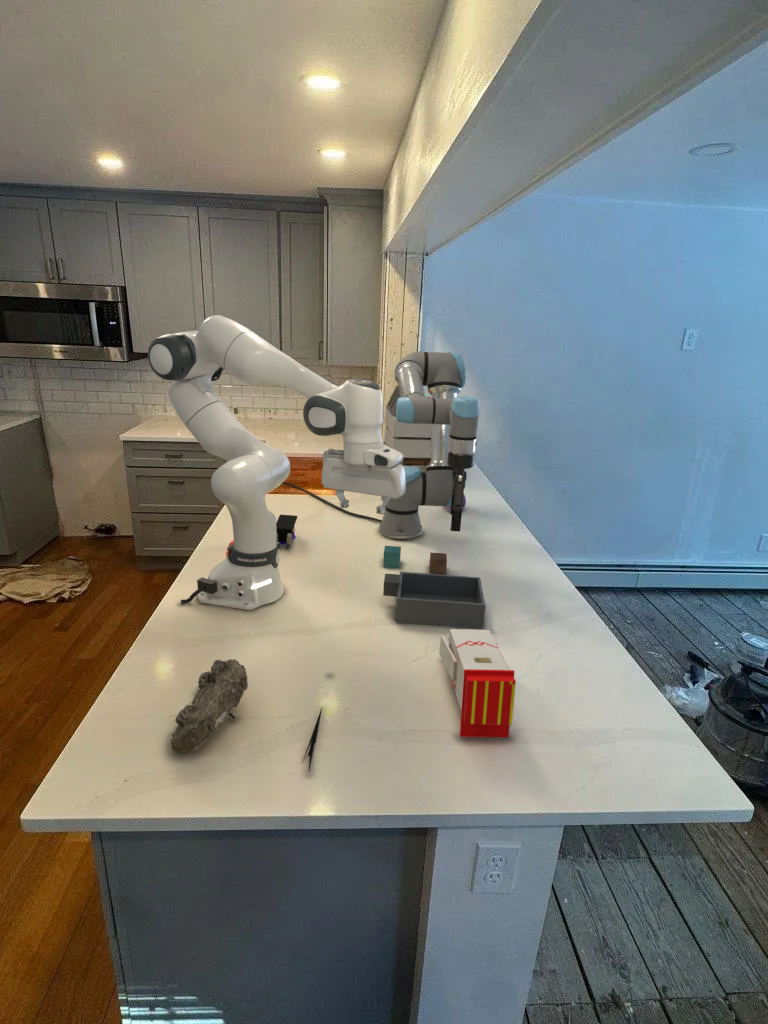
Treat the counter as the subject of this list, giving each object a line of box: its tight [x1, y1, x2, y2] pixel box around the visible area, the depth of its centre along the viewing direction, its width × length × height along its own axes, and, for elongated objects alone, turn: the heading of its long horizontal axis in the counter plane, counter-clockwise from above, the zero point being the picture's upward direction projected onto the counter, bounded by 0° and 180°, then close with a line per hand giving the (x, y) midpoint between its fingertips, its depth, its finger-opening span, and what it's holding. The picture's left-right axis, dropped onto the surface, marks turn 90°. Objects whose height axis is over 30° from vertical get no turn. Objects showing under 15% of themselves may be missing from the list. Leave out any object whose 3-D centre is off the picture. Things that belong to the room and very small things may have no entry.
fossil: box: [170, 658, 249, 753], centre depth 106 cm, size 22×10×15 cm
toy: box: [438, 628, 517, 738], centre depth 117 cm, size 12×13×30 cm
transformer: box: [383, 384, 432, 467], centre depth 268 cm, size 34×33×41 cm
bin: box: [382, 571, 486, 630], centre depth 149 cm, size 26×16×8 cm, turn 86°
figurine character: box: [276, 514, 298, 549], centre depth 187 cm, size 7×8×15 cm
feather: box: [301, 673, 332, 771], centre depth 108 cm, size 2×28×2 cm
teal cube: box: [382, 545, 402, 569], centre depth 175 cm, size 5×5×5 cm
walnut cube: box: [428, 552, 448, 575], centre depth 172 cm, size 5×5×5 cm
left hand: (362, 510), depth 133 cm, fingers open, 8 cm apart
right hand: (454, 522), depth 168 cm, fingers open, 13 cm apart
